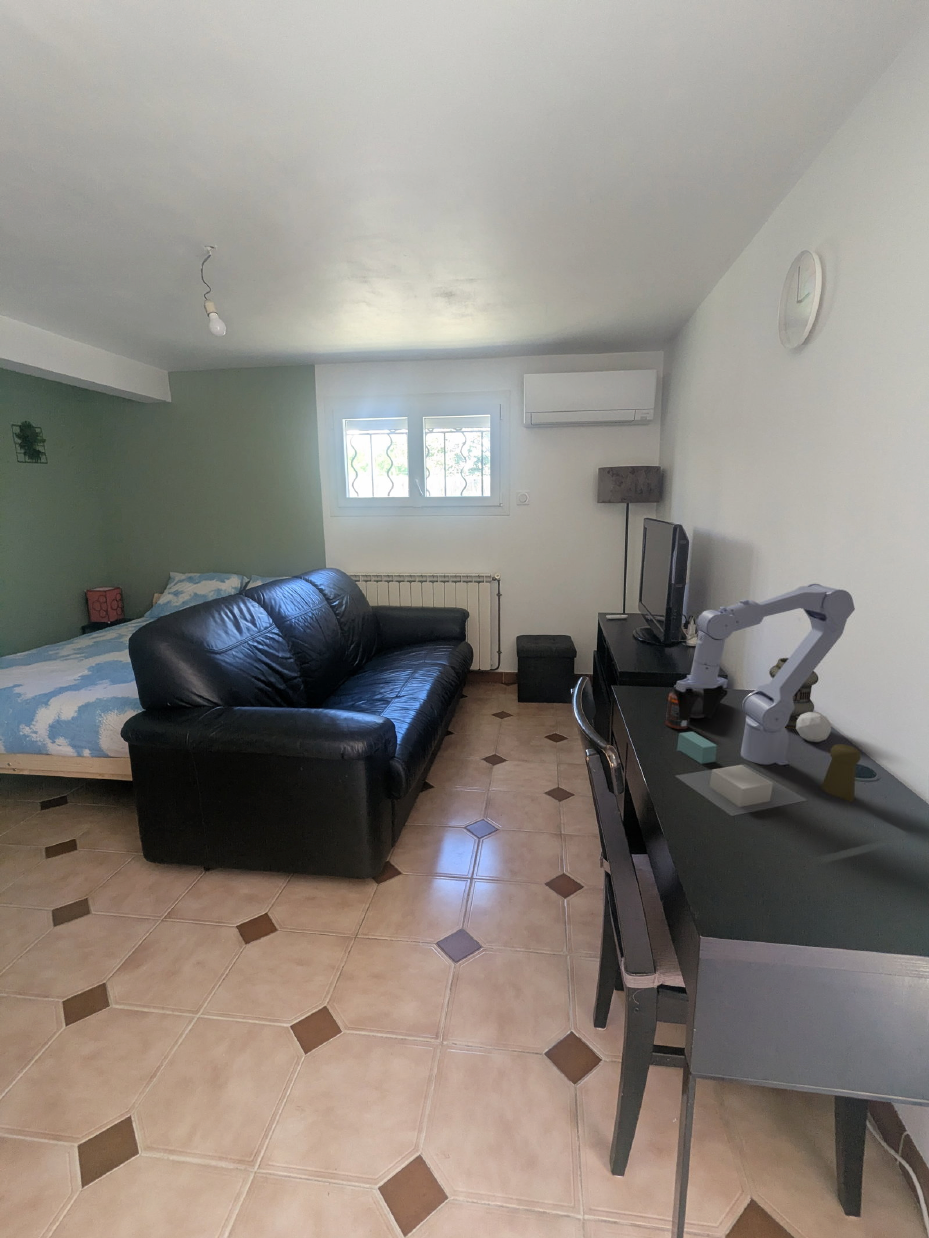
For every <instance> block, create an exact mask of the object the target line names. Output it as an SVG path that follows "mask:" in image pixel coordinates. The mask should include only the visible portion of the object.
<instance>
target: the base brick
mask: <svg viewBox="0 0 929 1238" xmlns="http://www.w3.org/2000/svg"><path fill="white" fill-rule="evenodd" d="M730 766H731V767H730ZM730 766H726V767H725V766H724V767H725V768H724V767H720V768H719V767H718V768H719V769H718V768H713V770H712V769H711V770H712V774H711V780H710V787H711V788H712V789H713V790H715V791H716V792H718V793H719V794H721V795H722V796H724V797H725V798H727V799H728V800H730V801H731V802H733V803H734V804H736V805H737V806H739V807H742V806H747V805H752V804H757V803H762V802H767V801H770V798H771V792H772V786H773V783H772V782H770V781H768V780H767V779H765V778H763V777H761V776H760V775H758V774H756V773H755V772H753V771H751V770H749V769H748V768H746V767H744V766H743V765H742V764H737V766H736V765H730Z"/></svg>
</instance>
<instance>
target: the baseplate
mask: <svg viewBox="0 0 929 1238" xmlns="http://www.w3.org/2000/svg"><path fill="white" fill-rule="evenodd" d="M737 765H738V764H737ZM737 765H735V766H737ZM741 765H743V766H744V767H746V768H748V769H749V770H751V771H753V772H755V773H756V774H758V775H760V776H761V777H763V778H765V779H767V780H768V781H770V782H772V783H773V786H772V792H771V798H770V801H767V802H762V803H757V804H752V805H747V806H742V807H739V806H737V805H736V804H734V803H733V802H731V801H730V800H728V799H727V798H725V797H724V796H722V795H721V794H719V793H718V792H716V791H715V790H713V789H712V788H711V787H710V780H711V774H712V770H713V769H714V768H713V769H707V770H702V771H695V772H690V773H684V774H677V775H675V777H676V778H677V779H679V780H680V781H681V782H683V783H684V784H685V785H687V786H688V787H689V788H691V789H693V790H694V791H695V792H697V793H698V794H699V795H702V797H704V798H705V799H707V800H708V801H710V802H711V803H713V804H714V805H716V806H717V807H718V808H719V809H721V810H722V811H724V812H725V813H727V814H728V815H729V816H731V817H733V816H734V817H735V816H738V815H745V814H748V813H749V814H750V813H753V812H758V811H763V810H767V809H772V808H778V807H782V806H783V807H784V806H787V805H792V804H797V803H802V802H806V801H808V799H806V798H805V797H803V796H801V795H799V794H798V793H796V792H794V791H792V790H791V789H789V788H788V787H786V786H784V785H782V784H780V783H778V782H777V781H775V780H773V779H771V778H770V777H768V776H766V775H764V774H763V773H761V772H759V771H758V770H755V769H754V768H753V767H751V766H749V765H747V764H745V763H744V764H741ZM731 766H732V765H730V766H729V767H731ZM723 768H725V766H724V767H723ZM717 769H719V767H718V768H717Z"/></svg>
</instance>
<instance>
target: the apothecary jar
mask: <svg viewBox="0 0 929 1238" xmlns="http://www.w3.org/2000/svg"><path fill="white" fill-rule="evenodd" d="M789 658H790V657H780V658H778V660H777V662H776V664H775V665H773V666H772V667H771V668H770V669H769V670H768V673H769V676H770V677H771V679H773V678H774V677H775V675H776V674H777V673H778V672H779V670H780V669H781V668H782V666H783V665H784V664H785V663H786V661H787V660H788V659H789ZM818 682H819V676H818V674H817V673H816V672H815V671H813V672H812V673H811V674H810V676H809V677H808V678H807V679H806V681H805V682H804V683H803V684H802V686H801V687H800V688H799V689H798V691H797V692H796V693H795V694H794V696H793V697H792V698H793V703H794V710H793V711H792V713H791V715H790V718H789V721H788V723H787V725H786V726H785V727H786V729H791V728H793V729H792V730H796V722H797V720H798V718H799V717H800V715H801V714H804V713H807V712H814V710H815V703H814V702H813V701H812V700H811V696H812V689H813V688H812V687H813V686H814V685H816V684H817V683H818ZM772 701H774V700H772Z"/></svg>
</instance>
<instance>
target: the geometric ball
mask: <svg viewBox="0 0 929 1238" xmlns="http://www.w3.org/2000/svg"><path fill="white" fill-rule="evenodd" d="M831 729H832V723H831V722H830V720H829V719H828V717H827V716H825V715H824V714H822V713H820V712H818V711H813V712H807V713H804V714H801V715H800V716H798V720H797V722H796V729H795V730H796V731H797V732H798V734H799V736H800V737H801V738H803V739H805V740H806V741H808V742H812V743H814V742H815V743H820V742H823V741H824V740H827V739H828V737H829V735H830V734H831V731H832V730H831Z"/></svg>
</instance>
